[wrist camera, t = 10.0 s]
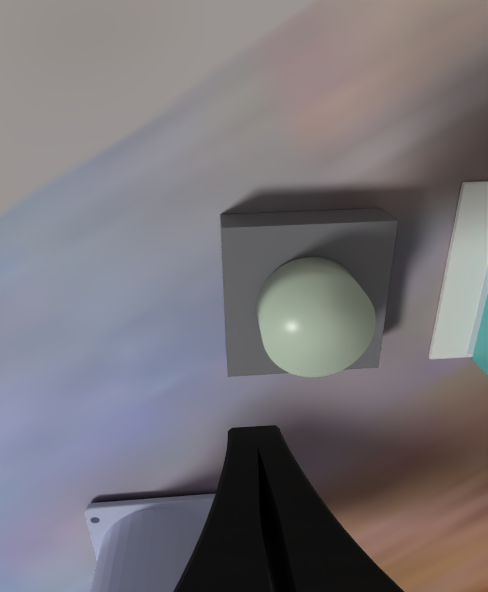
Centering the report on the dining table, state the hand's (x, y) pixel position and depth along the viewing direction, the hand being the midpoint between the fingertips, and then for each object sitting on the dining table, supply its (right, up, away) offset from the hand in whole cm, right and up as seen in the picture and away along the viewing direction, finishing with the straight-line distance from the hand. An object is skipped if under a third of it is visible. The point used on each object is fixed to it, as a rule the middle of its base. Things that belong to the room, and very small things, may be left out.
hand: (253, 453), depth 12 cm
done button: (+2, +5, +7) cm, 9 cm away
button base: (+2, +5, +8) cm, 10 cm away
